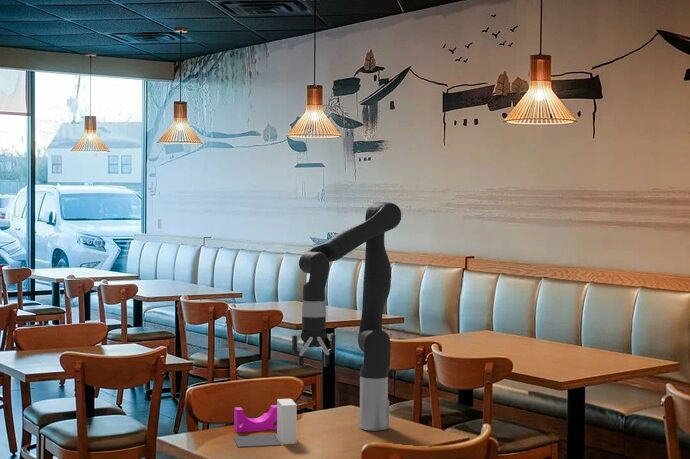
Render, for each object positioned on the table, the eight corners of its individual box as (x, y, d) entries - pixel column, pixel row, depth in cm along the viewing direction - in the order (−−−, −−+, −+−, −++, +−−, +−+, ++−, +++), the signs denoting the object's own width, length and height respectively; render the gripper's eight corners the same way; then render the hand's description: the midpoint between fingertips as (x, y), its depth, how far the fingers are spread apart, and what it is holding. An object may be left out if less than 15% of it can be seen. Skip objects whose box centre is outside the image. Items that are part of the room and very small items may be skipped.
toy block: (276, 425, 305) (276, 403, 305) (281, 429, 299) (281, 407, 299) (232, 428, 300) (232, 406, 300) (236, 432, 294) (236, 409, 294)
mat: (275, 435, 290) (275, 434, 290) (281, 445, 278) (281, 444, 278) (233, 437, 287) (233, 436, 287) (238, 447, 275) (238, 446, 275)
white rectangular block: (290, 436, 290) (291, 398, 290) (296, 443, 280) (296, 404, 280) (276, 436, 289) (277, 399, 289) (282, 444, 279) (282, 405, 279)
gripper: (333, 313, 291) (333, 364, 292) (289, 314, 288) (289, 365, 288) (338, 315, 284) (338, 368, 284) (293, 316, 281) (293, 369, 281)
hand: (313, 366), depth 286 cm, fingers open, 7 cm apart
